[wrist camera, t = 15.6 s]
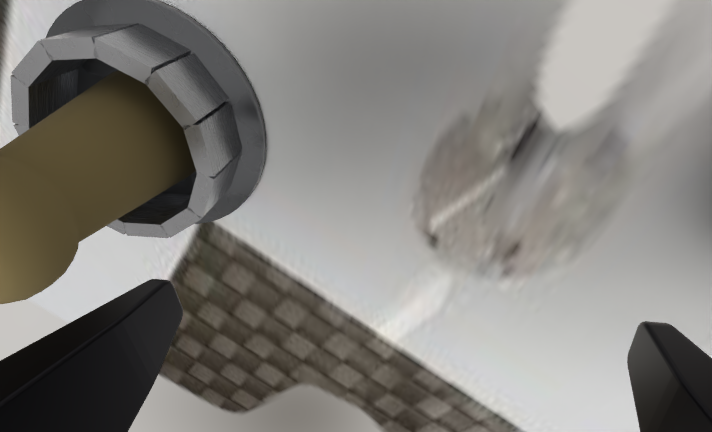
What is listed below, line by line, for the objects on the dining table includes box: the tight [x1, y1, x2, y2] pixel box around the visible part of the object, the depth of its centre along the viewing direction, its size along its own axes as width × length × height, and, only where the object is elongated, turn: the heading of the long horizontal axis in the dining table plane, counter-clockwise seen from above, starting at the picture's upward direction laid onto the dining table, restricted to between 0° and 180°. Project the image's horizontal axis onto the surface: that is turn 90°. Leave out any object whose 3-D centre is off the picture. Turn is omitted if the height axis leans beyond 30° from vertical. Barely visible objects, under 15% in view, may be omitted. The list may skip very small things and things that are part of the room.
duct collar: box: [11, 0, 266, 238], centre depth 21 cm, size 12×12×4 cm
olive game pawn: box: [0, 70, 196, 304], centre depth 18 cm, size 6×6×11 cm
